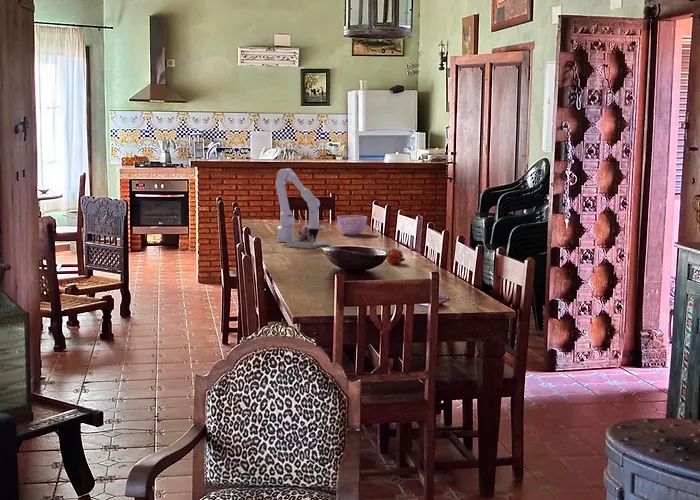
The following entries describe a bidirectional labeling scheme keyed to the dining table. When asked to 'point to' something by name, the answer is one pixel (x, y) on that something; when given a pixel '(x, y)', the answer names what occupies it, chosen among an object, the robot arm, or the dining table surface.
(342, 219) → the purple rounded bowl
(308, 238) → the brake caliper
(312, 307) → the dining table surface
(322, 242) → the receiver
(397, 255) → the dragon fruit
